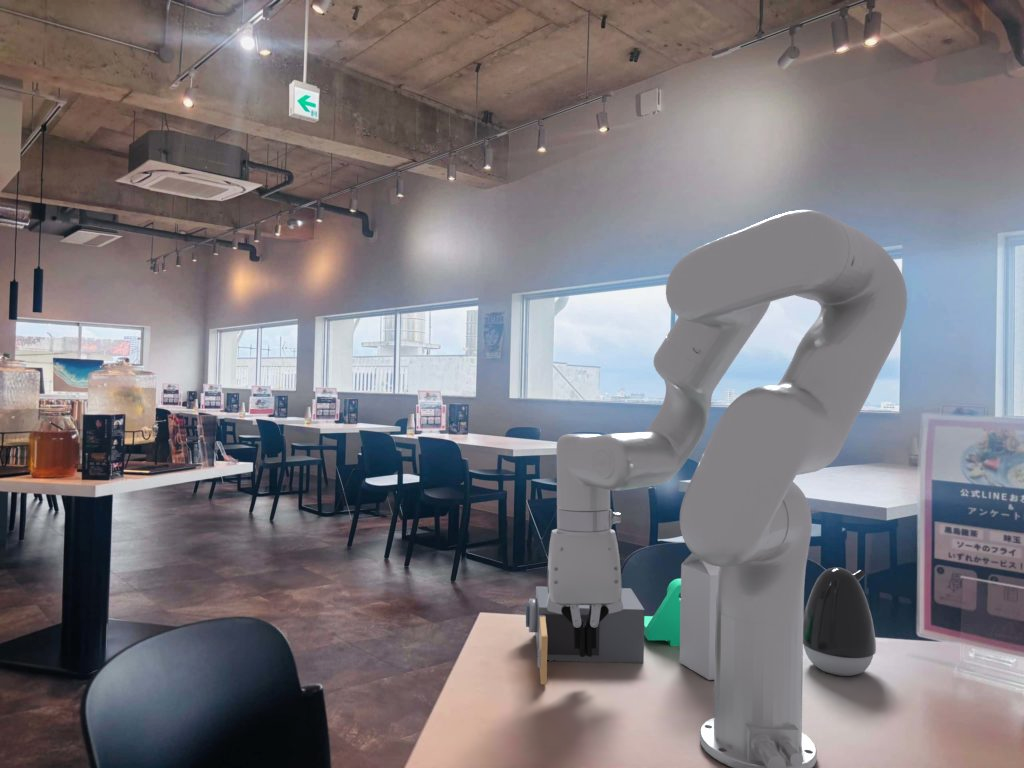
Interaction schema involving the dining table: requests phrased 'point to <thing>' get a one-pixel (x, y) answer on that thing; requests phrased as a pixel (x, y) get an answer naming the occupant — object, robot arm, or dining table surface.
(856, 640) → the black and white egg
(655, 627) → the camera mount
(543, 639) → the tan cabinet door
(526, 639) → the dining table surface
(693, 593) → the milk carton
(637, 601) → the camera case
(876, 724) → the dining table surface
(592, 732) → the dining table surface
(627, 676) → the dining table surface
